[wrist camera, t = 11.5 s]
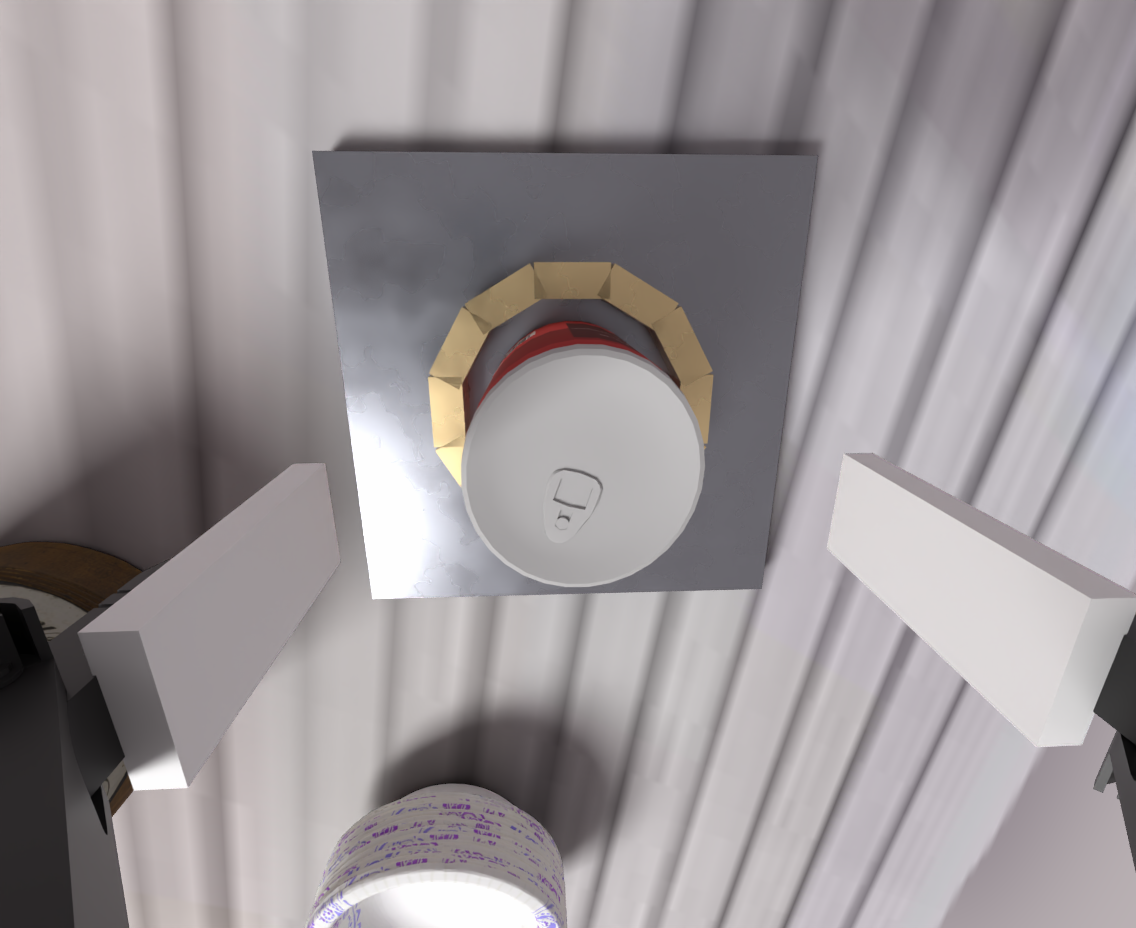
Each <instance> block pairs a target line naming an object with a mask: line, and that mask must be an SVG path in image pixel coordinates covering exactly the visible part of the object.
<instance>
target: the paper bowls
mask: <svg viewBox="0 0 1136 928" xmlns="http://www.w3.org/2000/svg"><path fill="white" fill-rule="evenodd" d="M305 928H567V915H566V899H565V882H564V873H563V865H562V859H561V857H560V853H559V852H558V848H557V846H556V844H555V842H554V840H553V838H552V837H551V835H550V834H549V833H548V832H547V830H546V829H545V828H543V826H542V825H541V824H540V823H539V822H537V821H536V820H535V819H534V817H532V816H530V815H529V814H528V813H526V812H524V811H523V810H521V809H518V807H516V806H513V805H512V804H511V803H510V802H509V801H507V800H506V799H504V798H503V797H501V796H500V795H498V794H496V793H494V792H492V791H490V790H487V789H485V788H481V787H477V786H473V785H467V784H440V785H434V786H430V787H426V788H423V789H420V790H417V791H415V792H413V793H411V794H409V795H407V796H405V797H403V798H402V799H399V800H397V801H394V802H391V803H389V804H386V805H383V806H381V807H379V808H377V809H375V810H373V811H371V812H370V813H368V814H367V815H366V816H364V817H363V818H361V819H360V820H359V821H358V822H357V823H355V824H354V825H353V826H352V827H351V828H350V829H349V830H348V831H347V832H346V833H345V834H344V835H343V836H342V837H341V838H340V840H339V841H338V843H337V845H336V847H335V848H334V850H333V852H332V854H331V857H330V859H329V861H328V863H327V866H326V869H325V871H324V874H323V878H322V880H321V883H320V885H319V888H318V890H317V894H316V897H315V902H314V905H313V907H312V909H311V911H310V914H309V917H308V920H307V922H306V925H305Z"/></svg>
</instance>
